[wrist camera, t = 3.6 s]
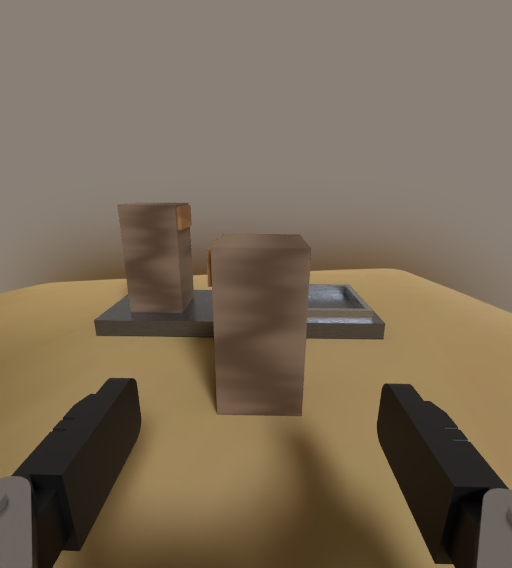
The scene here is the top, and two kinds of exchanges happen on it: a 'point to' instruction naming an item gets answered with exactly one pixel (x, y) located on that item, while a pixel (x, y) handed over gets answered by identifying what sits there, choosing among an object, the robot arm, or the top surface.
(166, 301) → the block
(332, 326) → the rail
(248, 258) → the walnut finger
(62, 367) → the top surface
